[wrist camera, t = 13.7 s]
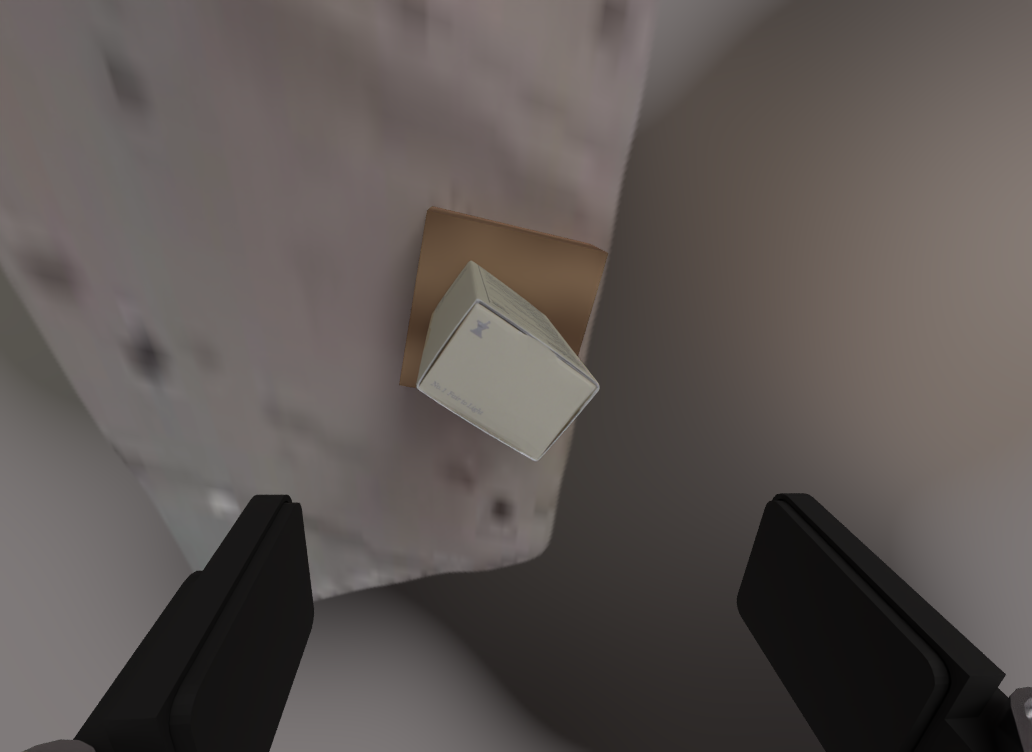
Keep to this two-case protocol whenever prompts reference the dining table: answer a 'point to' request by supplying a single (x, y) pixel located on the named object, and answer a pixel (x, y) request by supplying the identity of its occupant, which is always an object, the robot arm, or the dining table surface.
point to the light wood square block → (502, 274)
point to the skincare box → (502, 365)
